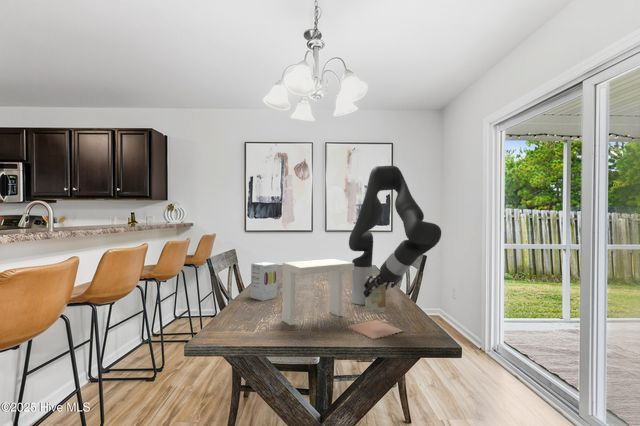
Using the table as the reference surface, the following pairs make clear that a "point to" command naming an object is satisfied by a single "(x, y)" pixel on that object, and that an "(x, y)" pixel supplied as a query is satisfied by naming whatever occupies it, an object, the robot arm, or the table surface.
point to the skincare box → (376, 299)
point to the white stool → (313, 267)
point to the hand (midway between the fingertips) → (372, 293)
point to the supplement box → (264, 281)
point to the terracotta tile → (374, 329)
